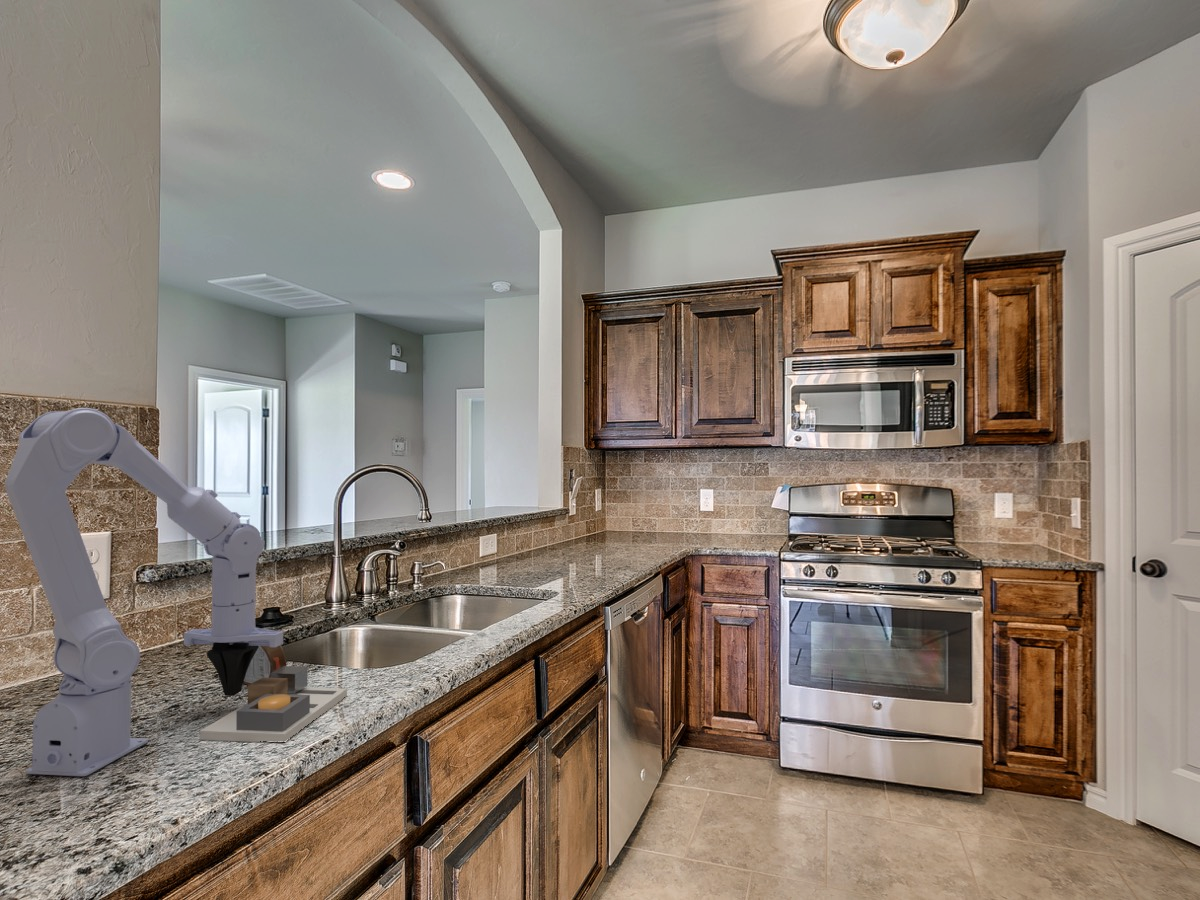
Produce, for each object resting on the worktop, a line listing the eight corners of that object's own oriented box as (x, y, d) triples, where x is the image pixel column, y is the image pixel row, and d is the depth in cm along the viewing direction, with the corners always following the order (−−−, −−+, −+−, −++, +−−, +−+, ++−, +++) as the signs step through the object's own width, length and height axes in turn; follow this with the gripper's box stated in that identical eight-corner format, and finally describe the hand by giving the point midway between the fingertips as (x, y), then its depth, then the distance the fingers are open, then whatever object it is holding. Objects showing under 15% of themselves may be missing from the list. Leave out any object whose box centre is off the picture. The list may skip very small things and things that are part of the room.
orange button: (279, 724, 86) (279, 705, 86) (251, 723, 87) (251, 704, 87) (296, 712, 90) (296, 694, 90) (269, 711, 91) (269, 694, 91)
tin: (288, 688, 105) (288, 637, 105) (269, 694, 102) (270, 642, 102) (236, 673, 112) (237, 625, 113) (218, 678, 110) (218, 629, 110)
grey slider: (294, 693, 98) (295, 673, 98) (270, 692, 98) (270, 673, 98) (307, 685, 101) (307, 666, 101) (283, 684, 102) (283, 666, 102)
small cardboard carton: (273, 707, 92) (273, 686, 92) (247, 706, 93) (247, 685, 93) (287, 698, 96) (287, 678, 96) (262, 697, 96) (262, 677, 96)
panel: (284, 743, 84) (284, 715, 84) (199, 739, 85) (200, 712, 85) (346, 696, 101) (347, 672, 101) (275, 693, 102) (275, 670, 102)
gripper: (294, 597, 99) (294, 685, 98) (207, 596, 100) (206, 682, 99) (267, 607, 91) (266, 702, 91) (173, 606, 93) (172, 699, 92)
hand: (233, 693), depth 95 cm, fingers closed
